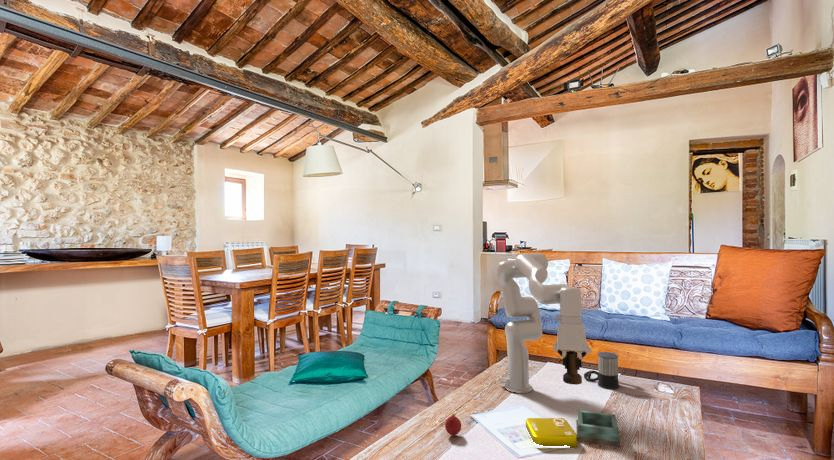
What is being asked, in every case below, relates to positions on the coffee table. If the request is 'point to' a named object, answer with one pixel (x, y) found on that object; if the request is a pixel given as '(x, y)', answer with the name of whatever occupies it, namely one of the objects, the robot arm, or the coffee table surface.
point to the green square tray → (597, 428)
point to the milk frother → (606, 371)
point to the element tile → (551, 432)
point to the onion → (453, 425)
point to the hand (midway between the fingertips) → (572, 367)
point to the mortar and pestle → (572, 369)
